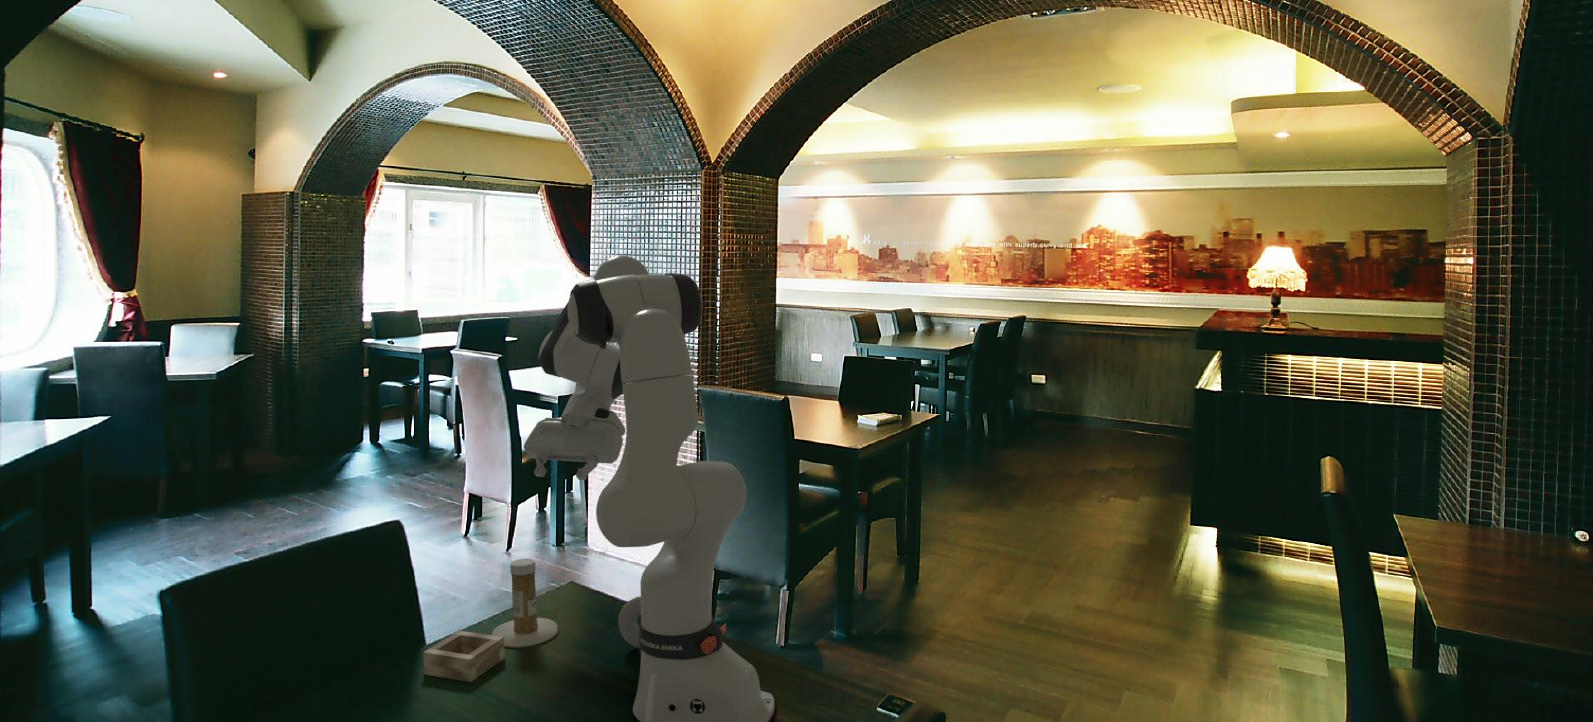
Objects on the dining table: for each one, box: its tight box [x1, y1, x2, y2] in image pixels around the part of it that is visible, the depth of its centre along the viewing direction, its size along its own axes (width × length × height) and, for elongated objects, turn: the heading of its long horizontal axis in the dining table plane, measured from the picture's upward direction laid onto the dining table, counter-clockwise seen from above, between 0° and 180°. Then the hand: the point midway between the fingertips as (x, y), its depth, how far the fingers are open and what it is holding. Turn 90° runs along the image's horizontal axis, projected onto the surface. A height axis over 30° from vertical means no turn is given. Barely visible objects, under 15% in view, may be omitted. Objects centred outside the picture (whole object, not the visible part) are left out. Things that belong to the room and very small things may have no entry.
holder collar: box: [422, 630, 506, 683], centre depth 160 cm, size 10×10×4 cm
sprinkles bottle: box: [509, 558, 538, 634], centre depth 173 cm, size 5×5×13 cm
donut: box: [617, 595, 641, 649], centre depth 167 cm, size 10×4×10 cm, turn 82°
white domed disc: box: [491, 617, 559, 648], centre depth 174 cm, size 12×12×1 cm
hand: (559, 476), depth 180 cm, fingers open, 8 cm apart
